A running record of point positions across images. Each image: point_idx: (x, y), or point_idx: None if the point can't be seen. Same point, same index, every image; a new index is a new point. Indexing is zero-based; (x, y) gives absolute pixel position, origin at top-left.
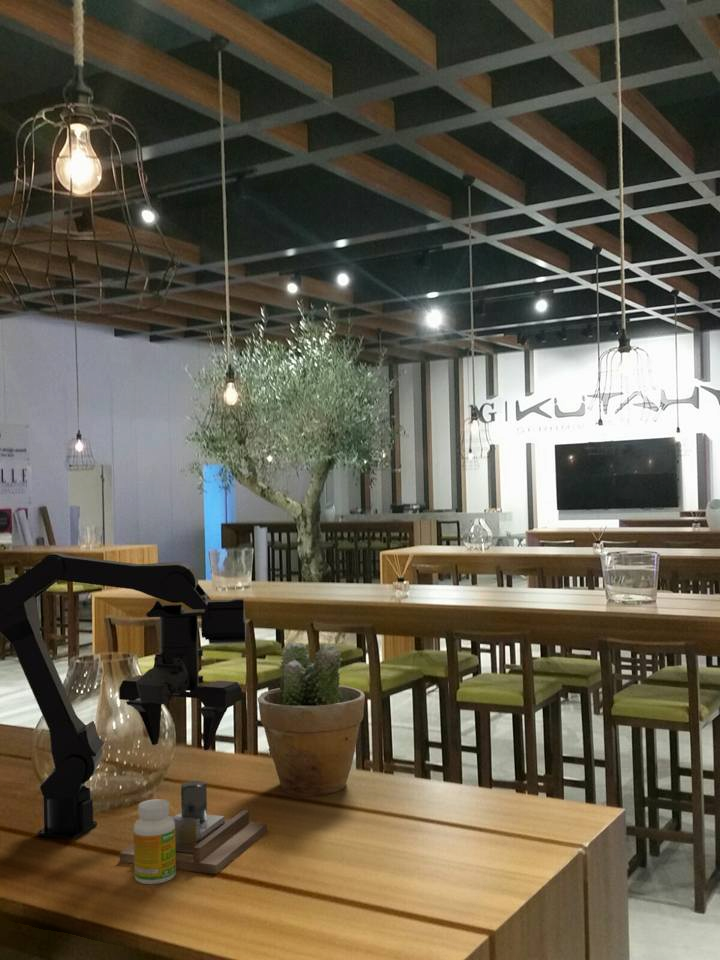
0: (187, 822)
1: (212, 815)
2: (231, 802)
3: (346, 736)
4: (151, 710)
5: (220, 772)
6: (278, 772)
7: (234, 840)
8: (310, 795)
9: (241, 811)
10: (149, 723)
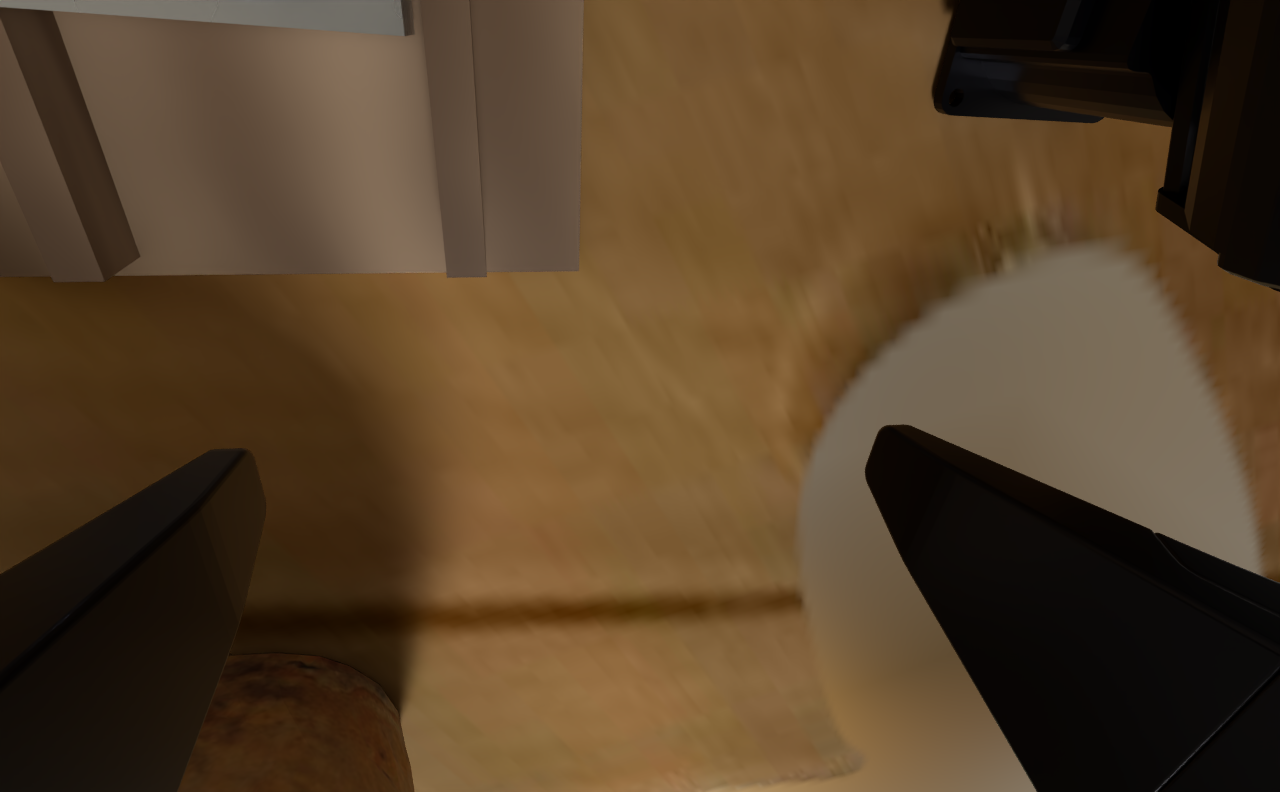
0: None
1: (99, 2)
2: (475, 515)
3: None
4: (1254, 763)
5: (671, 694)
6: (342, 722)
7: None
8: None
9: (92, 256)
10: (1110, 549)
